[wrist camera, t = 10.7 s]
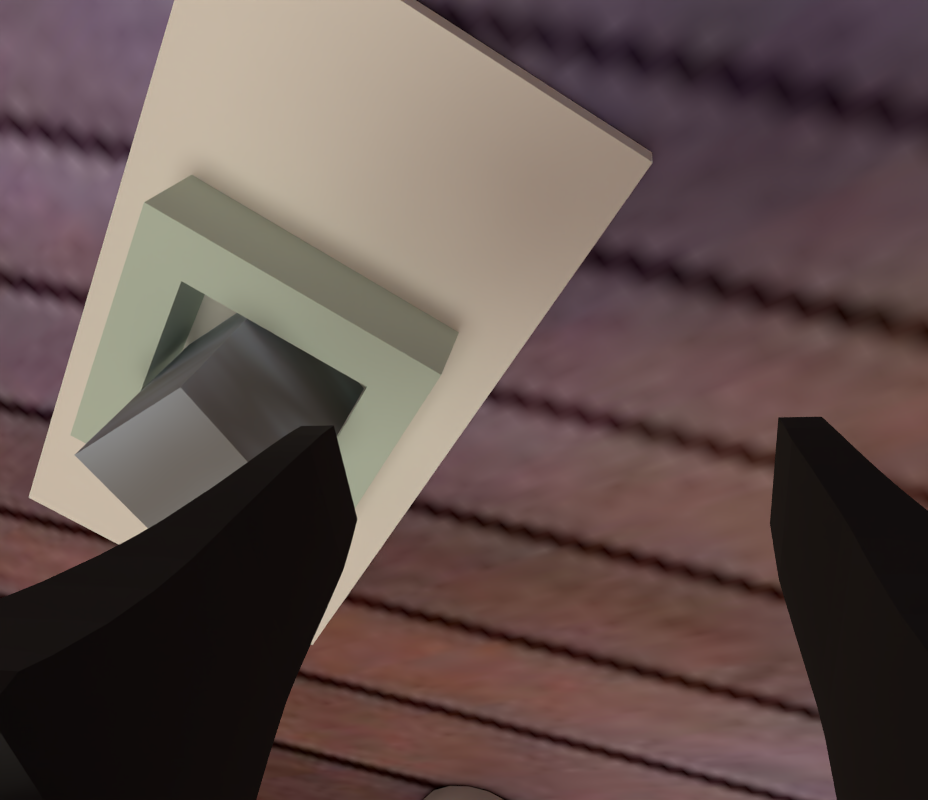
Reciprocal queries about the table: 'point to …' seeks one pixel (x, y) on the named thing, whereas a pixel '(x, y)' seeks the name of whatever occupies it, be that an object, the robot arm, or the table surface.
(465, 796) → the bottle
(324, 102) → the board with square socket
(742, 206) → the table surface
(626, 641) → the table surface
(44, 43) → the table surface
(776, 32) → the table surface
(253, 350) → the post
